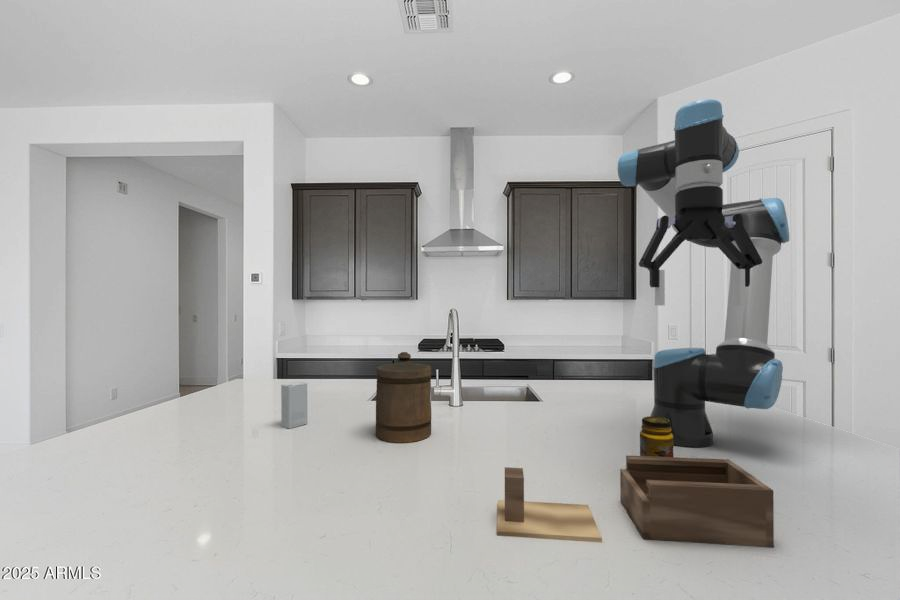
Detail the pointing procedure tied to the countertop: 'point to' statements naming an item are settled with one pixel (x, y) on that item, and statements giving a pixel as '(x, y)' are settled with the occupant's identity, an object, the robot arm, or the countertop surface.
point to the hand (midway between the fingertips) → (698, 305)
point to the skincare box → (294, 404)
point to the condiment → (656, 437)
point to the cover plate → (542, 515)
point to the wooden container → (403, 401)
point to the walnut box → (697, 501)
